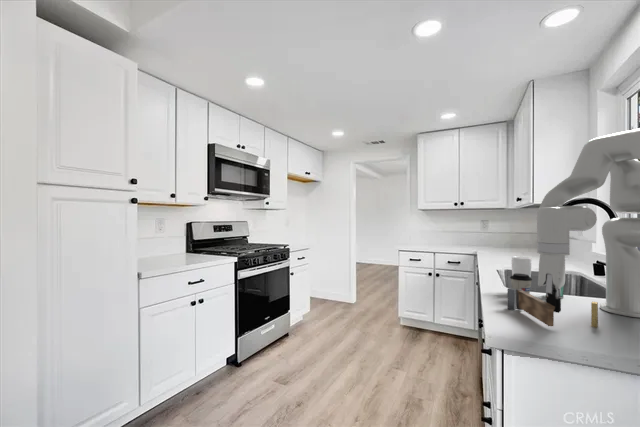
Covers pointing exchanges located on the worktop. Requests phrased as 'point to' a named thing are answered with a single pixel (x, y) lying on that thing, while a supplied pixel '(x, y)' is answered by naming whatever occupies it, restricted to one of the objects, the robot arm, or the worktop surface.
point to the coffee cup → (521, 282)
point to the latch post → (594, 314)
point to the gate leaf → (535, 307)
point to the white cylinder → (521, 265)
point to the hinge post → (511, 298)
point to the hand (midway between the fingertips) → (553, 310)
